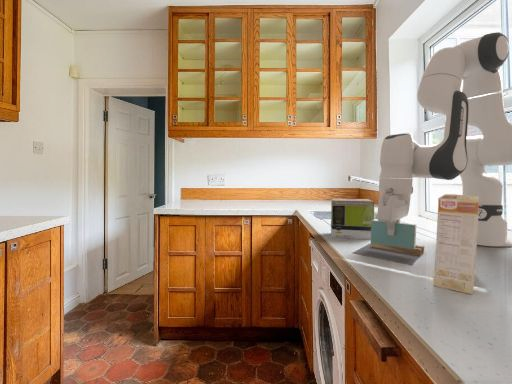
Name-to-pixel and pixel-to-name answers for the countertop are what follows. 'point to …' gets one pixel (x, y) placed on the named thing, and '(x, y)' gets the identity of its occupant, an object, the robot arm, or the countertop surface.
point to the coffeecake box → (456, 242)
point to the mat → (387, 254)
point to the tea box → (351, 218)
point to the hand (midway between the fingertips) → (392, 234)
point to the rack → (401, 249)
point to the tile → (402, 237)
